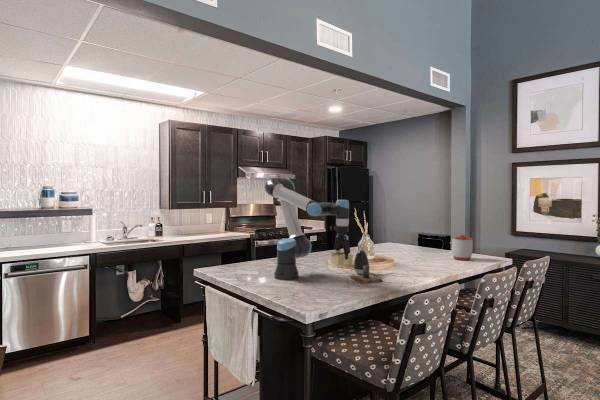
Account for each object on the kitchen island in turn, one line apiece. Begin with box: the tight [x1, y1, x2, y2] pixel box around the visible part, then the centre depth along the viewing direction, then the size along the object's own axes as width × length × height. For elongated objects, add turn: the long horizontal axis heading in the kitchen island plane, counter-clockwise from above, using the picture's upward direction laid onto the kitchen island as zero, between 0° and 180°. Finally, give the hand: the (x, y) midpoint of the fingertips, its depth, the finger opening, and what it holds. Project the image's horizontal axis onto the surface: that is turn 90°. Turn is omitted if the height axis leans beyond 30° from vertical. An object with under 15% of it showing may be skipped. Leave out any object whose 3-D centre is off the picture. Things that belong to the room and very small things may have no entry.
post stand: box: [350, 265, 384, 285], centre depth 219 cm, size 14×14×8 cm
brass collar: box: [330, 251, 354, 266], centre depth 218 cm, size 10×10×6 cm
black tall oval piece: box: [352, 249, 370, 275], centre depth 237 cm, size 10×10×15 cm
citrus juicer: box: [449, 234, 474, 261], centre depth 290 cm, size 16×17×20 cm
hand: (341, 262), depth 218 cm, fingers closed on brass collar, 9 cm apart
